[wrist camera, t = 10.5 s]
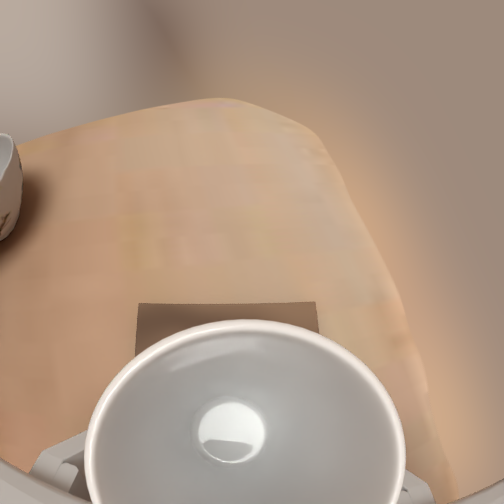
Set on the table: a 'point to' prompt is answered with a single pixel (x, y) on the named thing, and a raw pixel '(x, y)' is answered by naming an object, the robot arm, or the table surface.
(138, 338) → the walnut board
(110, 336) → the table surface
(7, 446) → the table surface
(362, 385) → the drinking glass
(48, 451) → the robot arm
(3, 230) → the teacup
